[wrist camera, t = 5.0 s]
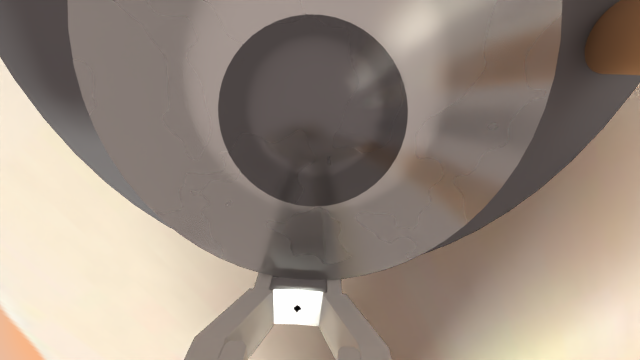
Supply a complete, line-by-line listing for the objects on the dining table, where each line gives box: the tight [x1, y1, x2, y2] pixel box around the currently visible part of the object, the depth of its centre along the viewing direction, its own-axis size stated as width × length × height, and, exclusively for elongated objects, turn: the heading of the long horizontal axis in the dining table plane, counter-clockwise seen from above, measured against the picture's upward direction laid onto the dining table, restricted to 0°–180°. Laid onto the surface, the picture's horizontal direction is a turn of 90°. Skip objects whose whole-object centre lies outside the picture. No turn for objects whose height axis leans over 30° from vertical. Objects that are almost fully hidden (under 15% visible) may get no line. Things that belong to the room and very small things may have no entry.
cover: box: [67, 0, 562, 280], centre depth 7 cm, size 11×11×4 cm
